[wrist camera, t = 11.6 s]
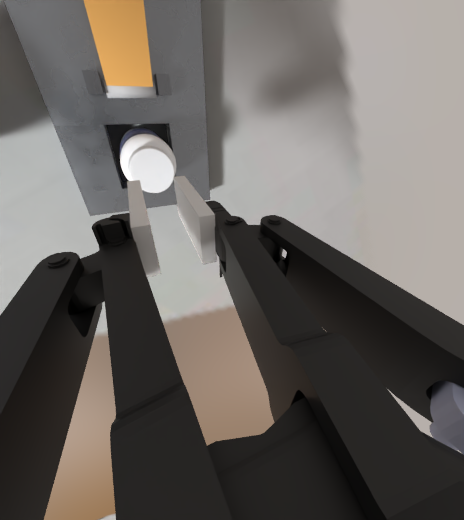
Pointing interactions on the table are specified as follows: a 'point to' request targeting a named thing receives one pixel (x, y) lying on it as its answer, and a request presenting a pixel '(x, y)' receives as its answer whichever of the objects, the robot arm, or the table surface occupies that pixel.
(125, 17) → the lever
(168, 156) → the pill bottle
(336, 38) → the table surface
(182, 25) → the hitch plate
